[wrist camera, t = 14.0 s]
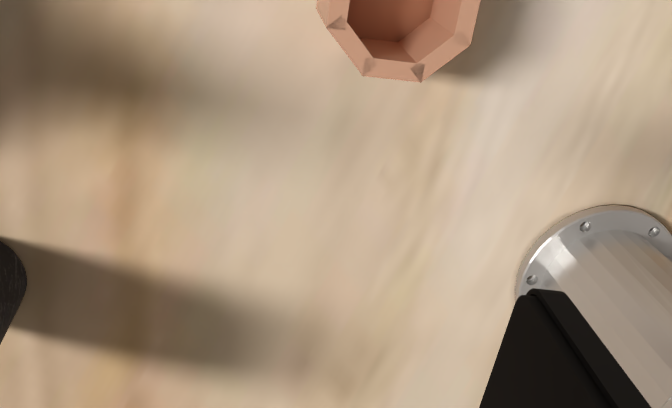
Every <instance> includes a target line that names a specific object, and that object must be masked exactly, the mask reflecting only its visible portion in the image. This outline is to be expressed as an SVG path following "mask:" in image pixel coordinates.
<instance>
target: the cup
mask: <svg viewBox="0 0 672 408" xmlns="http://www.w3.org/2000/svg"><path fill="white" fill-rule="evenodd" d="M480 1H481V0H317V7H316V9H317V11H318V13H319V15H320V17H321V19H322V21H323V23H324V24H325V26H326V28H327V29H328V30H329V32H330V33H331V34H332V36H333V37H334V38H335V40H336V41H337V42H338V44H339V45H340V46H341V48H342V49H343V50H344V51H345V53H346V54H347V55H348V57H349V58H350V59H351V61H352V62H353V63H354V65H355V66H356V67H357V69H358V70H359V71H360V73H361V75H362V76H368V77H377V78H386V79H395V80H404V81H413V82H420V83H421V82H422V81H423V80H425V79H426V78H427V77H429V76H430V75H431V74H433V73H434V72H435V71H437V70H438V69H439V68H441V67H442V66H443V65H445V64H446V63H447V62H449V61H450V60H451V59H453V58H454V57H455V56H457V55H458V54H459V53H461V52H462V51H463V50H465V49H466V48H467V47H469V46H470V45H471V40H472V36H473V31H474V27H475V23H476V18H477V14H478V10H479V5H480Z"/></svg>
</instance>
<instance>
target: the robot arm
mask: <svg viewBox="0 0 672 408" xmlns="http://www.w3.org/2000/svg"><path fill="white" fill-rule="evenodd" d="M515 302H516V303H515V306H514V309H513V311H512V314H511V317H510V320H509V323H508V326H507V329H506V332H505V335H504V338H503V340H502V343H501V346H500V349H499V352H498V355H497V358H496V361H495V364H494V367H493V369H492V372H491V375H490V378H489V381H488V384H487V387H486V390H485V393H484V395H483V398H482V401H481V404H480V407H479V408H672V235H671V234H670V232H669V231H668V230H667V229H666V227H665V226H664V225H663V224H662V223H660V222H659V221H658V220H657V219H655V218H654V217H653V216H651V215H650V214H648V213H646V212H644V211H642V210H640V209H636V208H633V207H629V206H620V205H607V206H597V207H594V208H590V209H586V210H583V211H580V212H578V213H575V214H573V215H571V216H569V217H567V218H565V219H563V220H562V221H560V222H559V223H557V224H555V225H554V226H552V227H551V228H550V229H549V230H548V231H547V232H545V233H544V234H543V235H542V236H541V237H540V238H539V239H538V240H537V241H536V242H535V244H534V245H533V246H532V247H531V248H530V250H529V251H528V253H527V254H526V256H525V258H524V260H523V261H522V263H521V266H520V268H519V271H518V274H517V277H516V284H515Z"/></svg>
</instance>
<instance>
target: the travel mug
mask: <svg viewBox="0 0 672 408" xmlns="http://www.w3.org/2000/svg"><path fill="white" fill-rule="evenodd" d="M26 285H27V278H26V272H25V269H24V267H23V265H22V263H21V261H20V259H19V258H18V256H17V255H16V254H15V253H14V252H13V251H12V250H11V249H10V248H9V247H8V246H6V245H5V244H4V243H2V242H1V241H0V344H1V342H2V340H3V338H4V336H5V334H6V332H7V330H8V328H9V326H10V324H11V322H12V320H13V318H14V316H15V314H16V312H17V310H18V307H19V305H20V303H21V301H22V299H23V296H24V294H25V291H26Z"/></svg>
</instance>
